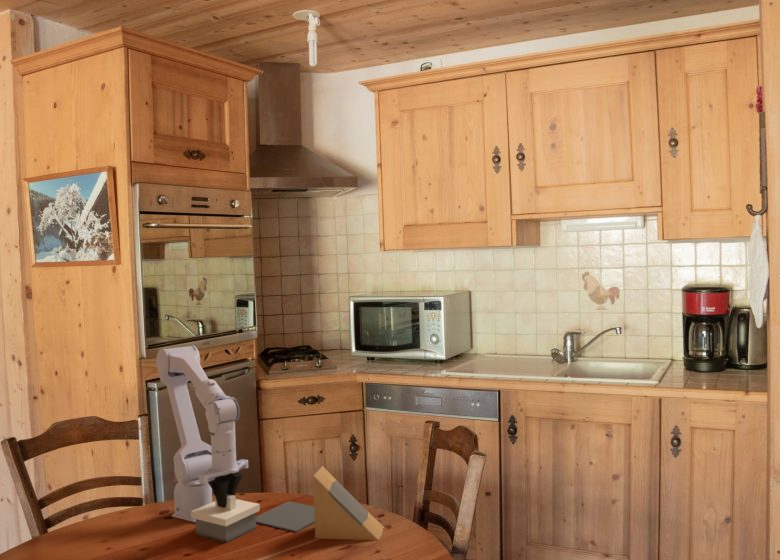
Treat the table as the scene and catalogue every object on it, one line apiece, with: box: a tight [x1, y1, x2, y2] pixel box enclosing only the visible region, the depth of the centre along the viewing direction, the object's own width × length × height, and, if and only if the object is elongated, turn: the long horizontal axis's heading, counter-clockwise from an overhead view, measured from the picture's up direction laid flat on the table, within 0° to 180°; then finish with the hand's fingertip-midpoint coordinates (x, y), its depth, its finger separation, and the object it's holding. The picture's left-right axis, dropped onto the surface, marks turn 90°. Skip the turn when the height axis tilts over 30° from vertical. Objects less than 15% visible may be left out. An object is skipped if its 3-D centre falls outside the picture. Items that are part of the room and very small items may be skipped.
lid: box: [191, 494, 261, 526], centre depth 170 cm, size 11×11×5 cm
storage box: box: [195, 512, 257, 543], centre depth 170 cm, size 10×10×5 cm
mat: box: [256, 500, 315, 533], centre depth 178 cm, size 15×15×1 cm
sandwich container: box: [312, 465, 385, 541], centre depth 167 cm, size 9×15×15 cm, turn 82°
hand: (225, 505), depth 170 cm, fingers closed on lid, 2 cm apart
